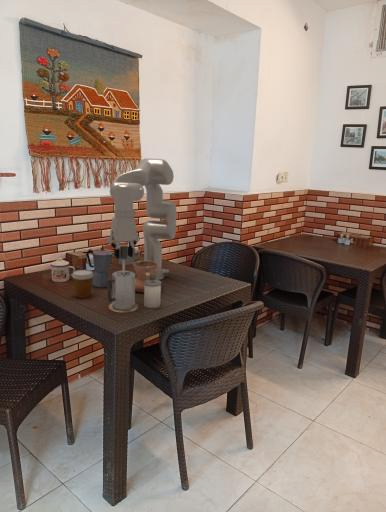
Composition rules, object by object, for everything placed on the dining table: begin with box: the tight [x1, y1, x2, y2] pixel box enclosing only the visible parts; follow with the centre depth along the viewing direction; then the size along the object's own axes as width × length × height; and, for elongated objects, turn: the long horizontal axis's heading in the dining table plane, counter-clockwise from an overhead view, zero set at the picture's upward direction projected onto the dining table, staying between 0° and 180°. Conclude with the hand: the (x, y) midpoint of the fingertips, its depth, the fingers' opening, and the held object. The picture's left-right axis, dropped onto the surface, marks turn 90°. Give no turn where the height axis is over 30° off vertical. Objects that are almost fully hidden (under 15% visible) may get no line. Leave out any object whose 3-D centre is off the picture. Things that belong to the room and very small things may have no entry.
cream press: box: [143, 273, 162, 309], centre depth 175 cm, size 8×8×16 cm
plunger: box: [119, 245, 127, 275], centre depth 169 cm, size 3×3×18 cm
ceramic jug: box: [133, 259, 158, 294], centre depth 195 cm, size 18×14×14 cm
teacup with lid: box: [50, 257, 76, 283], centre depth 206 cm, size 12×9×12 cm
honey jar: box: [71, 269, 94, 299], centre depth 183 cm, size 10×10×12 cm
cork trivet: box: [108, 302, 139, 313], centre depth 173 cm, size 13×13×1 cm
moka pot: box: [85, 246, 115, 288], centre depth 199 cm, size 10×15×20 cm, turn 78°
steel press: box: [106, 270, 136, 311], centre depth 171 cm, size 12×10×15 cm
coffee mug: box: [117, 244, 141, 266], centre depth 244 cm, size 13×10×10 cm
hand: (123, 256), depth 167 cm, fingers open, 5 cm apart
